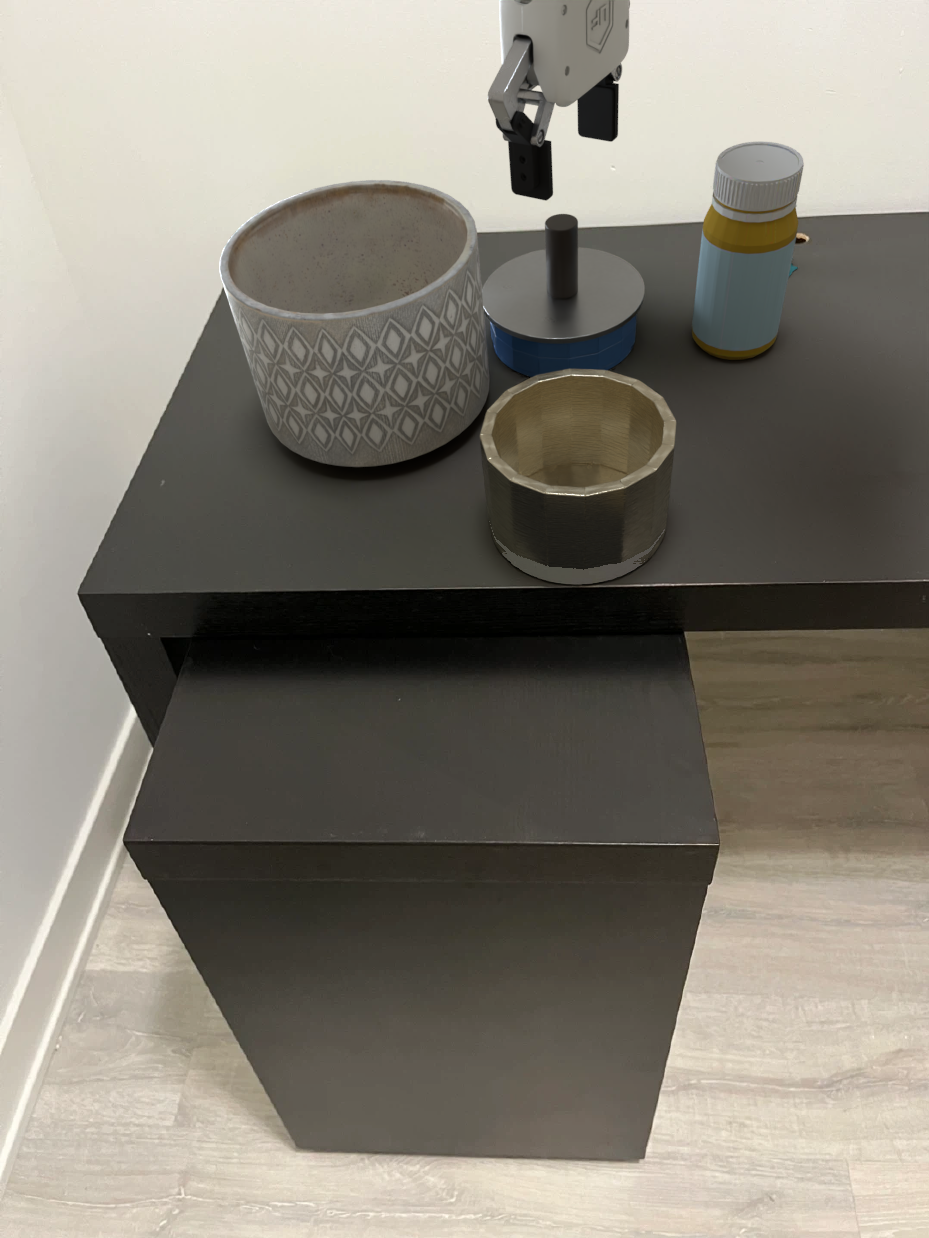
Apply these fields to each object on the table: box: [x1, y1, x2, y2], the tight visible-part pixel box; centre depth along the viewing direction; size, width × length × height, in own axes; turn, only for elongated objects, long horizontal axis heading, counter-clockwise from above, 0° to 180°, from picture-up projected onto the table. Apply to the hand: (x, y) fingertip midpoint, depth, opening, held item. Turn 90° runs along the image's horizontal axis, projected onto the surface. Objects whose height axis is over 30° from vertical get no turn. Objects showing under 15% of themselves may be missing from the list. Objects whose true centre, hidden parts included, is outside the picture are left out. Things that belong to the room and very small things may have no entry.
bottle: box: [691, 141, 805, 361], centre depth 74 cm, size 7×7×15 cm
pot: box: [479, 369, 678, 570], centre depth 65 cm, size 13×13×8 cm
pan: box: [489, 312, 639, 378], centre depth 81 cm, size 12×12×4 cm
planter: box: [218, 179, 491, 468], centre depth 73 cm, size 19×19×14 cm
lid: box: [482, 213, 646, 344], centre depth 77 cm, size 14×14×7 cm
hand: (566, 165), depth 71 cm, fingers open, 9 cm apart
